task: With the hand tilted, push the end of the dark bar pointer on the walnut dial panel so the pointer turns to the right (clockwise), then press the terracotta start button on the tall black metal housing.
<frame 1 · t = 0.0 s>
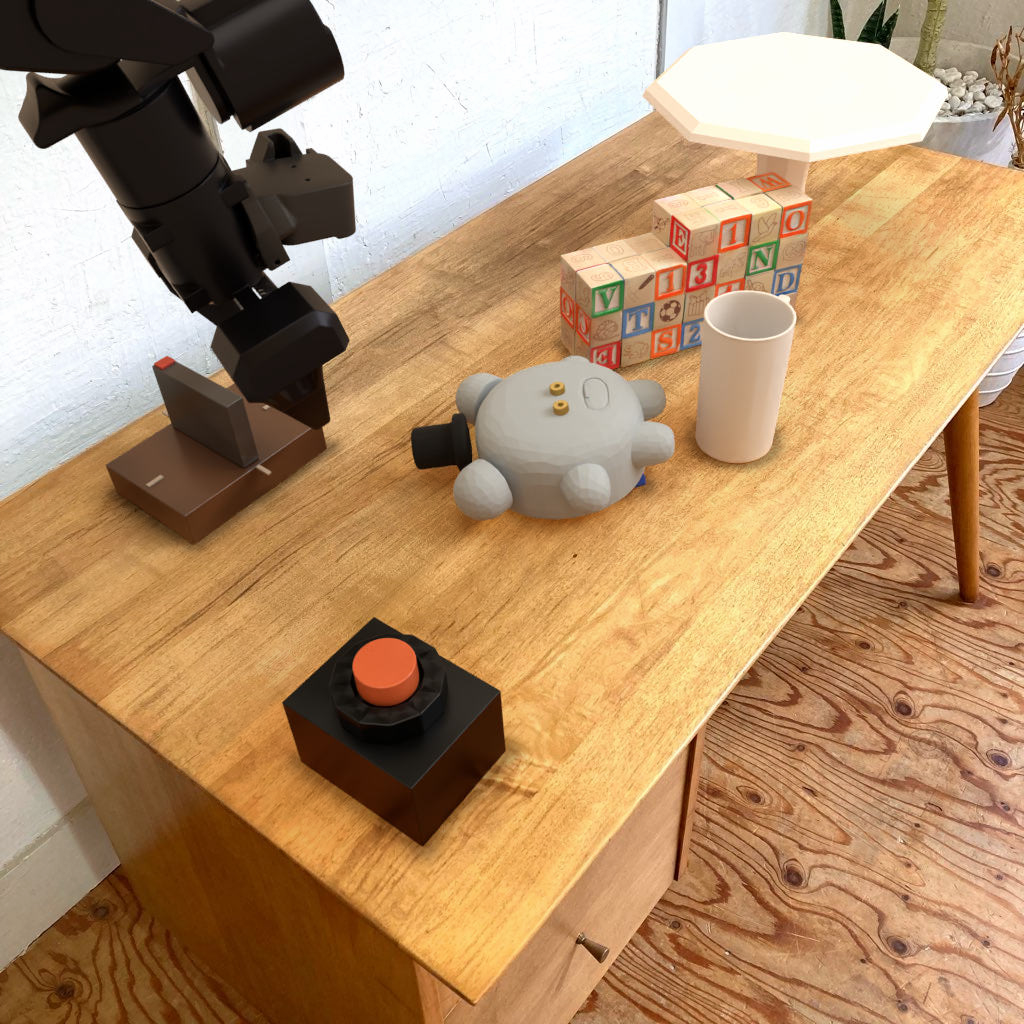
hand: (292, 386, 65), 17 cm above the table, tool pointing down, fingers open, 9 cm apart
mug: (744, 431, 87), on the table
start button: (386, 671, 60), point 8 cm above the table, slide at 0.1 cm
table 2: (772, 245, 109), on the table
figurine: (541, 473, 84), on the table
button box: (403, 756, 65), on the table
dial pointer: (205, 410, 82), point 6 cm above the table, hinge at 90.0°
stack of blocks: (677, 333, 98), on the table
dial panel: (223, 470, 86), on the table
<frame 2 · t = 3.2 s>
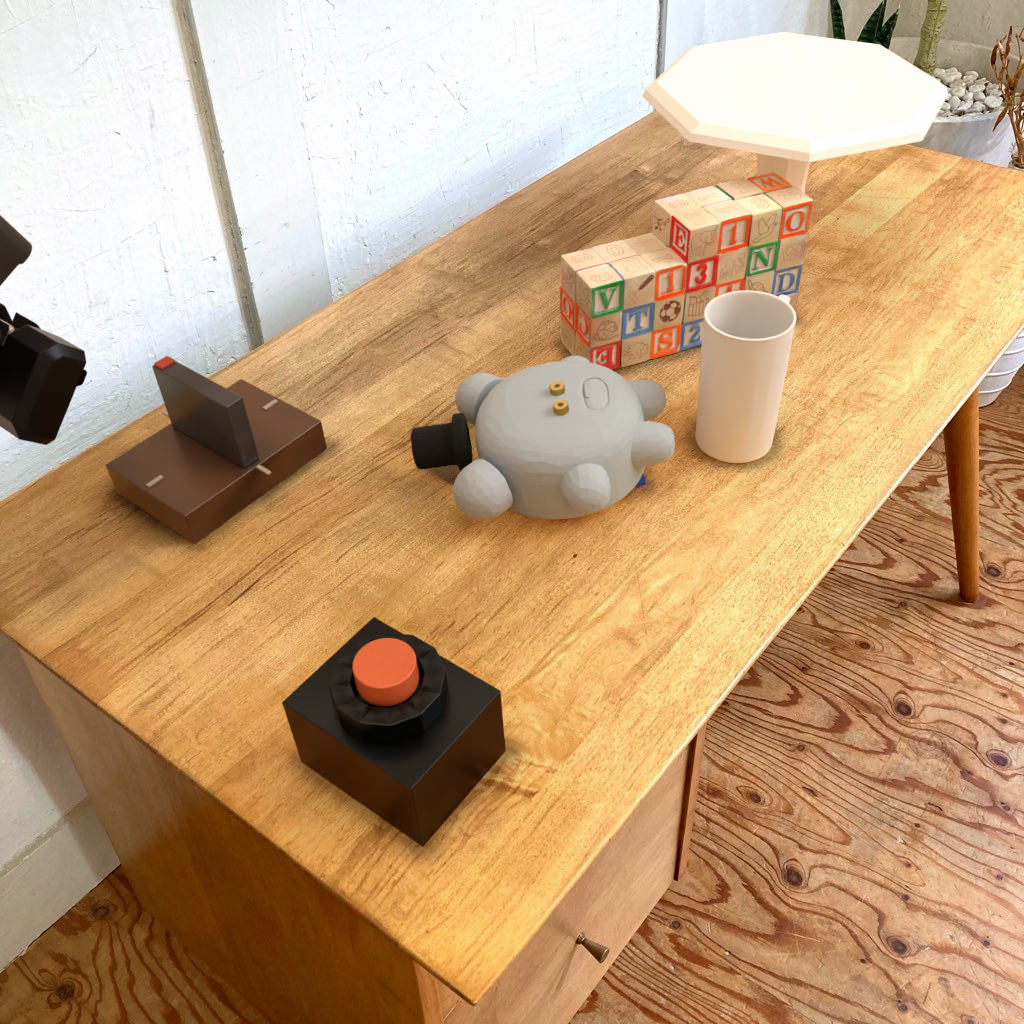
hand: (82, 376, 74), 13 cm above the table, tool tilted 45°, fingers closed
nothing on the table moved.
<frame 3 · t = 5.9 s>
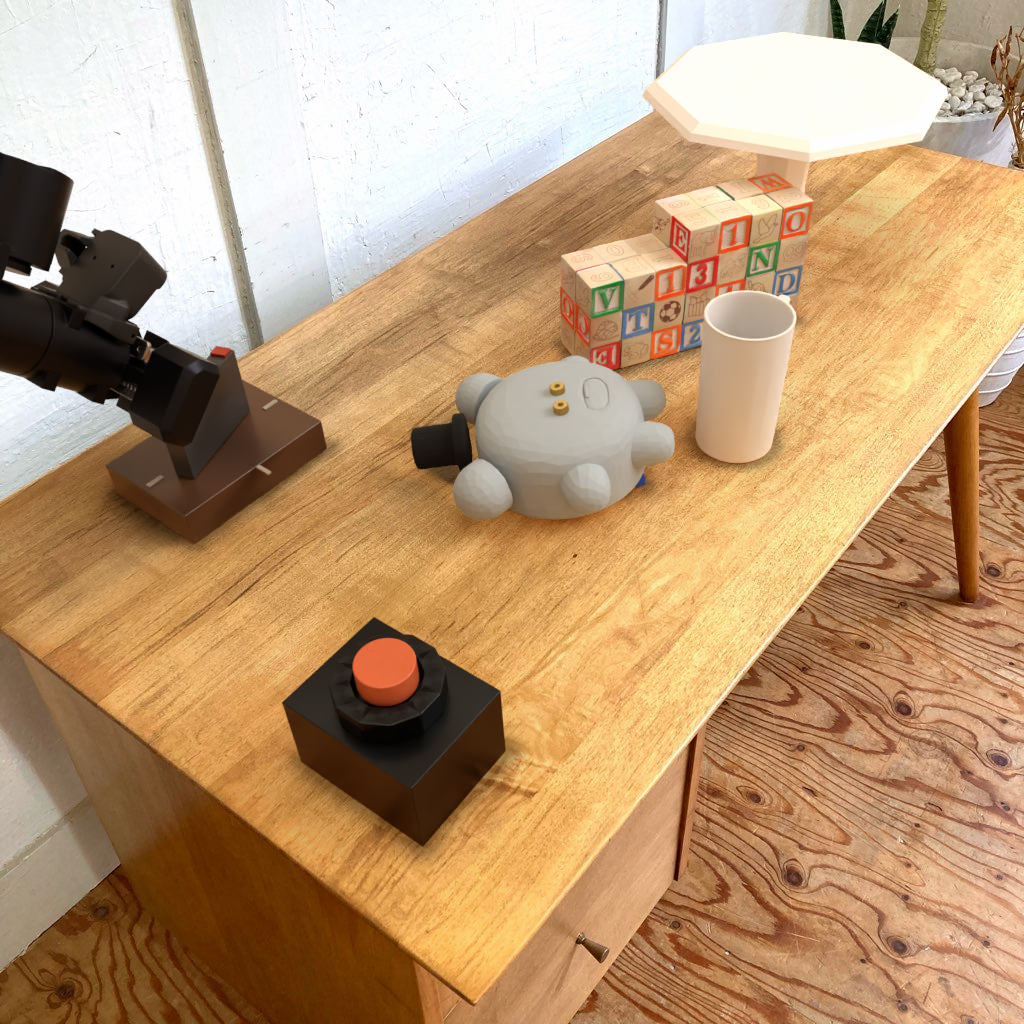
hand: (194, 386, 83), 7 cm above the table, tool tilted 45°, fingers closed
dial pointer: (205, 410, 82), point 6 cm above the table, hinge at 20.8°, touching gripper
everything else where it was.
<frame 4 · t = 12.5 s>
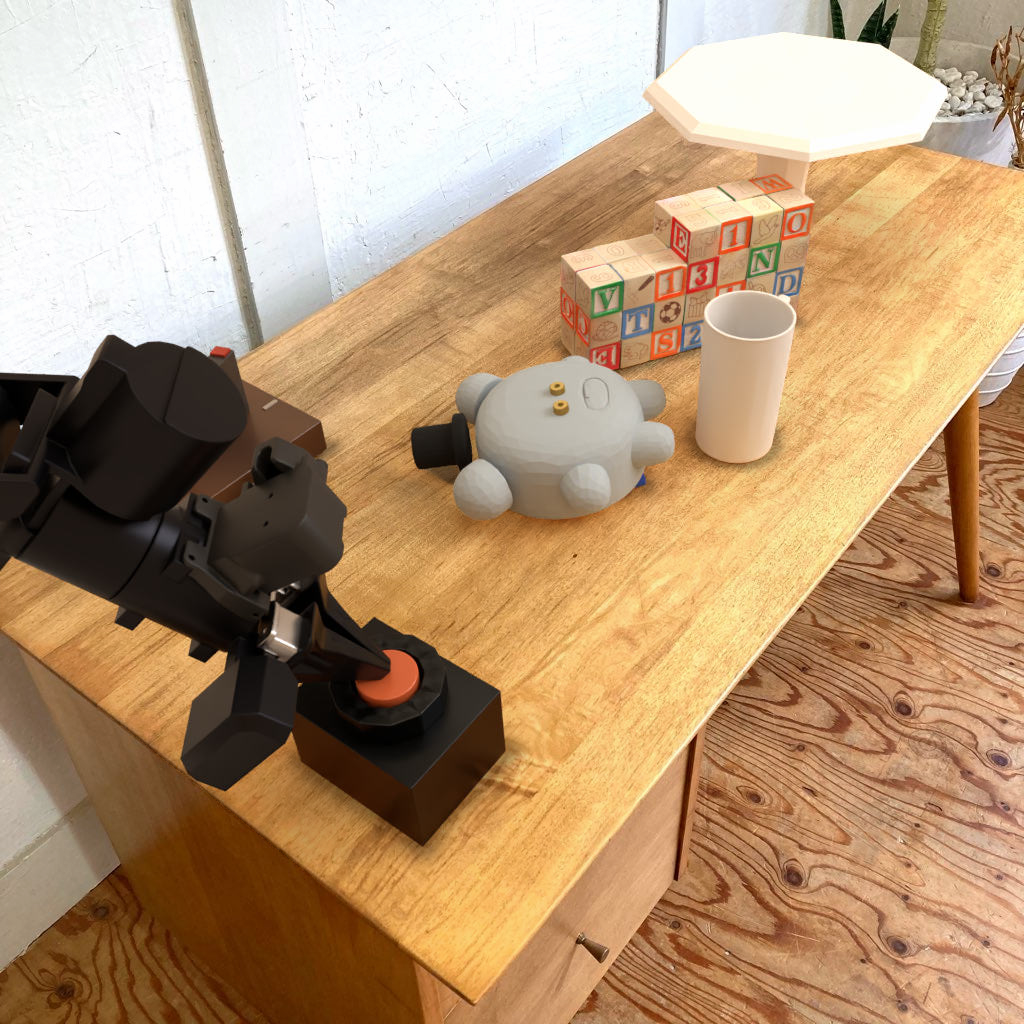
hand: (386, 670, 59), 9 cm above the table, tool tilted 45°, fingers closed, pressing on start button
start button: (388, 683, 60), point 7 cm above the table, slide at -0.9 cm, touching gripper
dial pointer: (205, 410, 82), point 6 cm above the table, hinge at 21.2°
everything else where it was.
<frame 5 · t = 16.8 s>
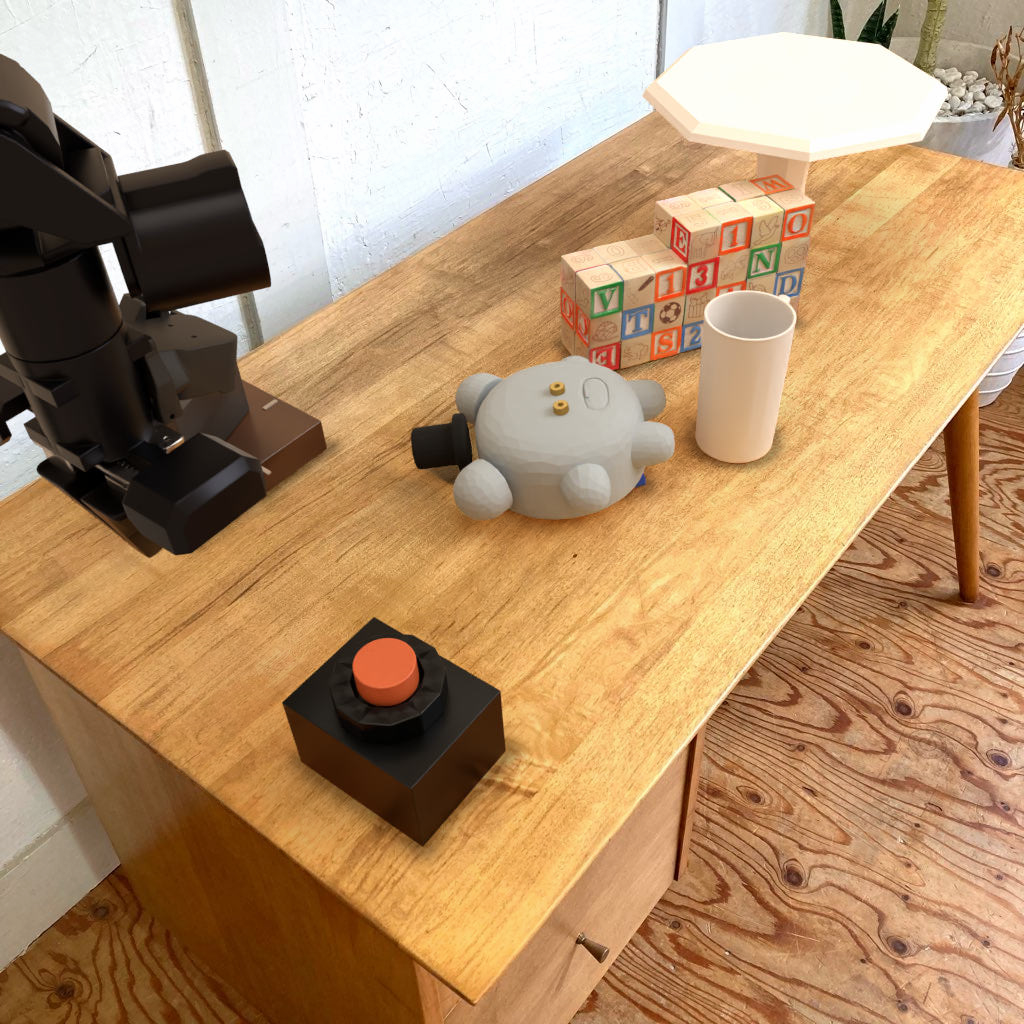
hand: (152, 551, 62), 12 cm above the table, tool pointing down, fingers closed
start button: (386, 671, 60), point 8 cm above the table, slide at 0.1 cm
everything else where it was.
at the end: dial pointer at +21° (first picture: +90°); start button pushed in 1.3 cm at the most during the clip, back to where it started at the end; start button slide at 0.1 cm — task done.
